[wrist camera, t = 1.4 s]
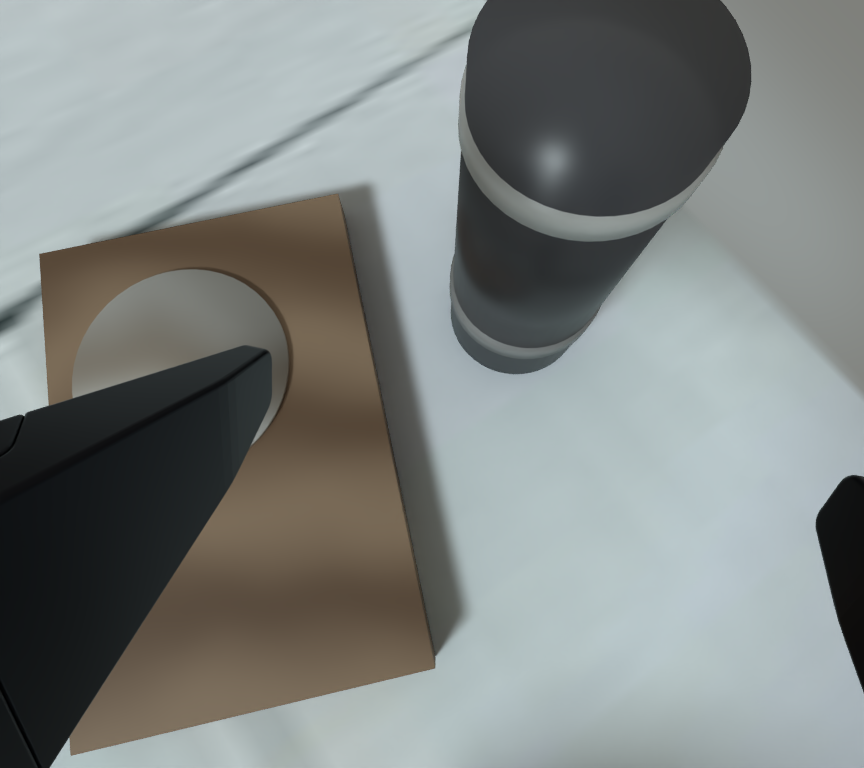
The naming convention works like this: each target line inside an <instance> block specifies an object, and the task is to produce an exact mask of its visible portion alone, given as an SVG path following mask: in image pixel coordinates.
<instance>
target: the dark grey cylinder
mask: <svg viewBox="0 0 864 768" xmlns="http://www.w3.org/2000/svg"><path fill="white" fill-rule="evenodd" d="M750 86H751V63H750V58H749V53H748V48H747V46H746V42H745V40H744V37H743V34H742V32H741V30H740V28H739V26H738V24H737V22H736V20H735V19H734V17H733V16H732V15H731V13H730V12H729V10H728V9H727V7H726V6H725V5H724V4H723V3H722V2H721V1H720V0H487V2H486V3H485V5H484V6H483V8H482V10H481V11H480V13H479V15H478V17H477V19H476V21H475V24H474V26H473V29H472V32H471V36H470V39H469V45H468V54H467V65H466V67H465V70H464V74H463V78H462V81H461V89H460V100H459V119H458V130H459V141H460V147H461V161H460V176H459V192H458V207H457V223H456V239H455V254H454V257H453V261H452V264H451V273H450V297H451V320H452V326H453V329H454V332H455V335H456V337H457V339H458V341H459V343H460V344H461V346H462V347H463V349H464V350H465V351H466V352H467V353H468V354H469V355H470V356H471V357H472V358H473V359H474V360H476V361H477V362H479V363H480V364H481V365H483V366H485V367H487V368H489V369H492V370H495V371H498V372H502V373H508V374H525V373H531V372H534V371H538V370H540V369H543V368H545V367H547V366H549V365H550V364H552V363H553V362H555V361H556V360H557V359H558V358H560V357H561V356H562V354H563V353H564V352H565V351H566V350H567V349H568V347H569V346H570V345H571V344H572V343H573V342H575V341H576V340H577V339H578V338H579V337H580V336H581V335H582V334H583V332H584V331H585V330H586V329H587V327H588V326H589V325H590V323H591V322H592V321H593V319H594V318H595V316H596V315H597V313H598V311H599V309H600V306H601V304H602V303H603V302H604V300H605V299H606V298H607V296H608V295H609V294H610V293H611V291H612V290H613V289H614V287H615V286H616V285H617V283H618V282H619V281H620V280H621V278H622V277H623V276H624V274H625V273H626V272H627V270H628V269H629V268H630V266H631V265H632V264H633V263H634V261H635V260H636V259H637V257H638V256H639V255H640V253H641V252H642V251H643V250H644V248H645V247H646V246H647V244H648V243H649V242H650V240H651V239H652V238H653V237H654V235H655V234H656V233H657V231H658V230H659V229H660V227H661V226H662V225H663V223H664V222H665V221H666V220H667V218H668V217H670V216H671V215H672V214H674V213H675V212H676V211H677V210H678V209H679V208H680V207H681V206H682V205H683V204H684V203H685V202H686V201H687V200H688V199H689V197H690V196H691V195H692V194H693V192H694V191H695V190H696V189H697V187H698V186H699V185H700V184H701V182H702V181H703V179H704V178H705V177H706V176H707V174H708V173H709V172H710V170H711V169H712V167H713V166H714V165H715V163H716V161H717V159H718V157H719V155H720V153H721V151H722V149H723V145H724V144H725V142H726V141H727V140H728V138H729V137H730V136H731V134H732V133H733V131H734V130H735V129H736V127H737V126H738V124H739V122H740V120H741V118H742V116H743V113H744V111H745V108H746V105H747V102H748V98H749V94H750Z"/></svg>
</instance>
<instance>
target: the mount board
mask: <svg viewBox="0 0 864 768" xmlns="http://www.w3.org/2000/svg"><path fill="white" fill-rule="evenodd" d="M39 256H40V272H41V288H42V304H43V320H44V336H45V352H46V368H47V384H48V400H49V405H53V404H56V403H59V402H62V401H65V400H69V399H72V398H75V397H78V396H82V395H85V394H88V393H91V392H94V391H98V390H101V389H104V388H107V387H110V386H114V385H117V384H120V383H123V382H127V381H130V380H133V379H136V378H139V377H143V376H146V375H149V374H152V373H155V372H159V371H162V370H165V369H168V368H172V367H175V366H178V365H181V364H184V363H188V362H191V361H194V360H197V359H201V358H204V357H207V356H210V355H213V354H217V353H220V352H223V351H226V350H229V349H233V348H236V347H239V346H242V345H249V346H254V347H259V348H263V349H267V350H268V351H269V352H270V353H271V357H272V399H271V403H270V406H269V409H268V411H267V413H266V415H265V417H264V419H263V421H262V423H261V425H260V427H259V429H258V432H257V434H256V436H255V438H254V440H253V442H252V444H251V446H250V448H249V450H248V452H247V454H246V456H245V459H244V461H243V463H242V465H241V467H240V469H239V471H238V473H237V475H236V477H235V479H234V481H233V482H232V484H231V486H230V487H229V489H228V491H227V492H226V494H225V495H224V497H223V499H222V500H221V502H220V503H219V505H218V506H217V508H216V510H215V511H214V513H213V514H212V516H211V517H210V519H209V520H208V522H207V524H206V525H205V527H204V528H203V530H202V531H201V533H200V534H199V536H198V538H197V539H196V541H195V542H194V544H193V545H192V547H191V548H190V550H189V552H188V553H187V555H186V556H185V558H184V559H183V561H182V562H181V564H180V566H179V567H178V569H177V570H176V572H175V573H174V575H173V576H172V578H171V580H170V581H169V583H168V584H167V586H166V587H165V589H164V590H163V592H162V594H161V595H160V597H159V598H158V600H157V601H156V603H155V604H154V606H153V608H152V609H151V611H150V612H149V614H148V615H147V617H146V618H145V620H144V622H143V623H142V625H141V626H140V628H139V629H138V631H137V632H136V634H135V636H134V637H133V639H132V640H131V642H130V643H129V645H128V647H127V648H126V650H125V651H124V653H123V654H122V656H121V657H120V659H119V661H118V662H117V664H116V665H115V667H114V668H113V670H112V671H111V673H110V675H109V676H108V678H107V679H106V681H105V682H104V684H103V685H102V687H101V689H100V690H99V692H98V693H97V695H96V696H95V698H94V699H93V701H92V703H91V704H90V706H89V707H88V709H87V710H86V712H85V713H84V715H83V717H82V718H81V720H80V721H79V723H78V724H77V726H76V727H75V729H74V731H73V732H72V734H71V735H70V752H71V756H72V755H76V754H80V753H84V752H88V751H93V750H97V749H101V748H105V747H109V746H113V745H118V744H122V743H126V742H130V741H134V740H138V739H143V738H147V737H151V736H155V735H159V734H163V733H168V732H172V731H176V730H180V729H184V728H188V727H193V726H197V725H201V724H205V723H209V722H213V721H218V720H222V719H226V718H230V717H234V716H238V715H243V714H247V713H251V712H255V711H259V710H263V709H268V708H272V707H276V706H280V705H284V704H288V703H293V702H297V701H301V700H305V699H309V698H313V697H318V696H322V695H326V694H330V693H334V692H338V691H343V690H347V689H351V688H355V687H359V686H363V685H368V684H372V683H376V682H380V681H384V680H388V679H393V678H397V677H401V676H405V675H409V674H413V673H418V672H422V671H426V670H430V669H434V668H435V653H434V648H433V643H432V638H431V634H430V629H429V624H428V619H427V614H426V609H425V604H424V600H423V595H422V590H421V585H420V580H419V575H418V570H417V566H416V561H415V556H414V551H413V546H412V541H411V536H410V532H409V527H408V522H407V517H406V512H405V507H404V502H403V497H402V493H401V488H400V483H399V478H398V473H397V468H396V463H395V459H394V454H393V449H392V444H391V439H390V434H389V429H388V425H387V420H386V415H385V410H384V405H383V400H382V395H381V391H380V386H379V381H378V376H377V371H376V366H375V361H374V357H373V352H372V347H371V342H370V337H369V332H368V327H367V322H366V318H365V313H364V308H363V303H362V298H361V293H360V288H359V284H358V279H357V274H356V269H355V264H354V259H353V254H352V250H351V245H350V240H349V235H348V230H347V225H346V220H345V216H344V212H343V208H342V205H341V202H340V198H339V195H338V194H334V195H329V196H324V197H319V198H314V199H309V200H304V201H299V202H294V203H289V204H284V205H279V206H274V207H269V208H264V209H259V210H255V211H250V212H245V213H240V214H235V215H230V216H225V217H220V218H215V219H210V220H205V221H200V222H195V223H190V224H185V225H180V226H175V227H170V228H166V229H161V230H156V231H151V232H146V233H141V234H136V235H131V236H126V237H121V238H116V239H111V240H106V241H101V242H96V243H91V244H86V245H81V246H77V247H72V248H67V249H62V250H57V251H52V252H47V253H42V254H39Z"/></svg>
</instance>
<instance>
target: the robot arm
mask: <svg viewBox="0 0 864 768" xmlns="http://www.w3.org/2000/svg"><path fill="white" fill-rule="evenodd" d="M271 399H272V357H271V353H270V352H269V351H268V350H267V349H263V348H259V347H254V346H249V345H242V346H239V347H236V348H233V349H229V350H226V351H223V352H220V353H217V354H213V355H210V356H207V357H204V358H201V359H197V360H194V361H191V362H188V363H184V364H181V365H178V366H175V367H172V368H168V369H165V370H162V371H159V372H155V373H152V374H149V375H146V376H143V377H139V378H136V379H133V380H130V381H127V382H123V383H120V384H117V385H114V386H110V387H107V388H104V389H101V390H98V391H94V392H91V393H88V394H85V395H82V396H78V397H75V398H72V399H69V400H65V401H62V402H59V403H56V404H53V405H49V406H46V407H43V408H40V409H36V410H33V411H30V412H27V413H26V414H25V417H24V416H23V415H17V416H13V417H10V418H7V419H4V420H1V421H0V768H50V766H51V765H52V763H53V762H54V760H55V759H56V757H57V755H58V754H59V752H60V751H61V749H62V748H63V746H64V745H65V743H66V741H67V740H68V738H69V737H70V735H71V734H72V732H73V731H74V729H75V727H76V726H77V724H78V723H79V721H80V720H81V718H82V717H83V715H84V713H85V712H86V710H87V709H88V707H89V706H90V704H91V703H92V701H93V699H94V698H95V696H96V695H97V693H98V692H99V690H100V689H101V687H102V685H103V684H104V682H105V681H106V679H107V678H108V676H109V675H110V673H111V671H112V670H113V668H114V667H115V665H116V664H117V662H118V661H119V659H120V657H121V656H122V654H123V653H124V651H125V650H126V648H127V647H128V645H129V643H130V642H131V640H132V639H133V637H134V636H135V634H136V632H137V631H138V629H139V628H140V626H141V625H142V623H143V622H144V620H145V618H146V617H147V615H148V614H149V612H150V611H151V609H152V608H153V606H154V604H155V603H156V601H157V600H158V598H159V597H160V595H161V594H162V592H163V590H164V589H165V587H166V586H167V584H168V583H169V581H170V580H171V578H172V576H173V575H174V573H175V572H176V570H177V569H178V567H179V566H180V564H181V562H182V561H183V559H184V558H185V556H186V555H187V553H188V552H189V550H190V548H191V547H192V545H193V544H194V542H195V541H196V539H197V538H198V536H199V534H200V533H201V531H202V530H203V528H204V527H205V525H206V524H207V522H208V520H209V519H210V517H211V516H212V514H213V513H214V511H215V510H216V508H217V506H218V505H219V503H220V502H221V500H222V499H223V497H224V495H225V494H226V492H227V491H228V489H229V487H230V486H231V484H232V482H233V481H234V479H235V477H236V475H237V473H238V471H239V469H240V467H241V465H242V463H243V461H244V459H245V456H246V454H247V452H248V450H249V448H250V446H251V444H252V442H253V440H254V438H255V436H256V434H257V432H258V429H259V427H260V425H261V423H262V421H263V419H264V417H265V415H266V413H267V411H268V409H269V406H270V403H271ZM816 532H817V536H818V540H819V544H820V548H821V552H822V557H823V561H824V565H825V569H826V573H827V577H828V582H829V586H830V590H831V594H832V598H833V602H834V606H835V610H836V614H837V617H838V621H839V624H840V627H841V630H842V633H843V636H844V639H845V642H846V645H847V648H848V650H849V653H850V656H851V659H852V662H853V664H854V667H855V670H856V673H857V676H858V678H859V681H860V684H861V687H862V689H863V692H864V477H862V476H857V475H851V476H847V477H846V478H844V479H843V480H842V481H841V482H840V483H839V485H838V486H837V488H836V489H835V490H834V492H833V493H832V494H831V496H830V497H829V499H828V500H827V501H826V503H825V504H824V506H823V507H822V508H821V510H820V511H819V513H818V515H817V518H816Z"/></svg>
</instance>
